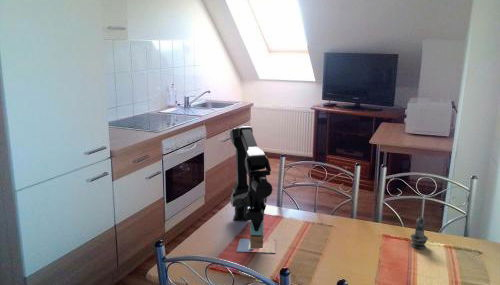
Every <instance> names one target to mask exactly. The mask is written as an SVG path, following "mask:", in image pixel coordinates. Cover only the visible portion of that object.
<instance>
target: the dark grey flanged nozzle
mask: <svg viewBox="0 0 500 285" xmlns="http://www.w3.org/2000/svg"><path fill="white" fill-rule="evenodd" d="M422 216H423V215H420V216H419V217H418V218H416V223H415V226H414V229H415V230H414V233H411V235H410V240H411V241H412V242H411V243H410V247H412V248H413V249H415V250H419V251H420V250H421V251H422V250H426V248H427V246H426V245H425V244H426V243H427V242H428V239H429V237H428V236H426V235H425V230H426V227H425V226H426V225H425V223H426V220H425V219H424V218H423V217H422Z"/></svg>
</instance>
